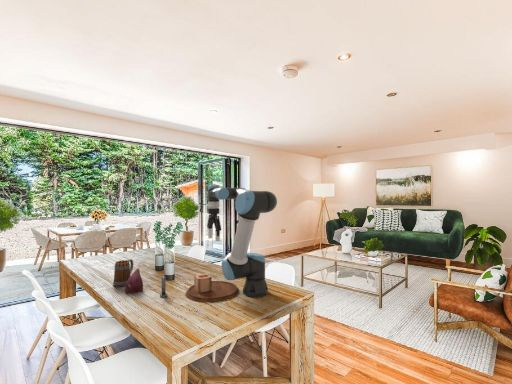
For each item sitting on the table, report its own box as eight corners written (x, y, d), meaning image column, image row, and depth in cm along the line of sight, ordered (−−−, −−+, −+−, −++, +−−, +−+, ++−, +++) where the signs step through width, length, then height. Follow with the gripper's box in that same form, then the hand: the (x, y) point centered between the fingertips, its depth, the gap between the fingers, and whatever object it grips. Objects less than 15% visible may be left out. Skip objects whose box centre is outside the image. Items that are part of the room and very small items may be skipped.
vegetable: (137, 292, 170) (141, 268, 175) (145, 294, 164) (149, 268, 168) (121, 292, 163) (125, 267, 167) (128, 294, 156) (133, 267, 161)
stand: (167, 296, 155) (167, 277, 155) (160, 297, 153) (160, 278, 153) (166, 294, 158) (166, 275, 158) (159, 295, 156) (159, 276, 156)
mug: (123, 287, 170) (123, 264, 170) (109, 286, 172) (109, 263, 172) (139, 280, 185) (139, 258, 185) (125, 279, 187) (125, 257, 187)
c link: (207, 286, 166) (206, 273, 166) (211, 290, 159) (211, 276, 159) (194, 288, 162) (194, 275, 162) (198, 292, 155) (198, 279, 155)
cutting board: (230, 281, 183) (230, 278, 183) (246, 298, 153) (246, 294, 153) (182, 287, 171) (182, 283, 171) (189, 307, 141) (189, 302, 141)
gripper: (202, 207, 189) (202, 237, 188) (215, 208, 167) (215, 242, 167) (212, 207, 192) (212, 236, 192) (226, 208, 171) (226, 241, 170)
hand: (213, 239), depth 179 cm, fingers open, 13 cm apart
